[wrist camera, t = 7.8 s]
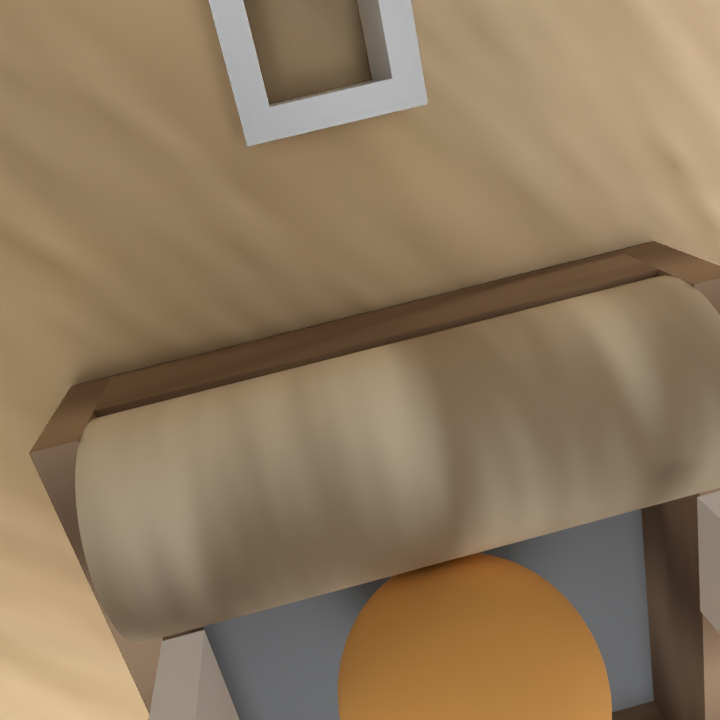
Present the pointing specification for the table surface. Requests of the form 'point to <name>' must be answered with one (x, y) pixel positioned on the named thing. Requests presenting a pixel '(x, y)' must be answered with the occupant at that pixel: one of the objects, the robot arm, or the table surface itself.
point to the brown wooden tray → (408, 455)
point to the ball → (471, 649)
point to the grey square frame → (334, 107)
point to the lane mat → (340, 608)
